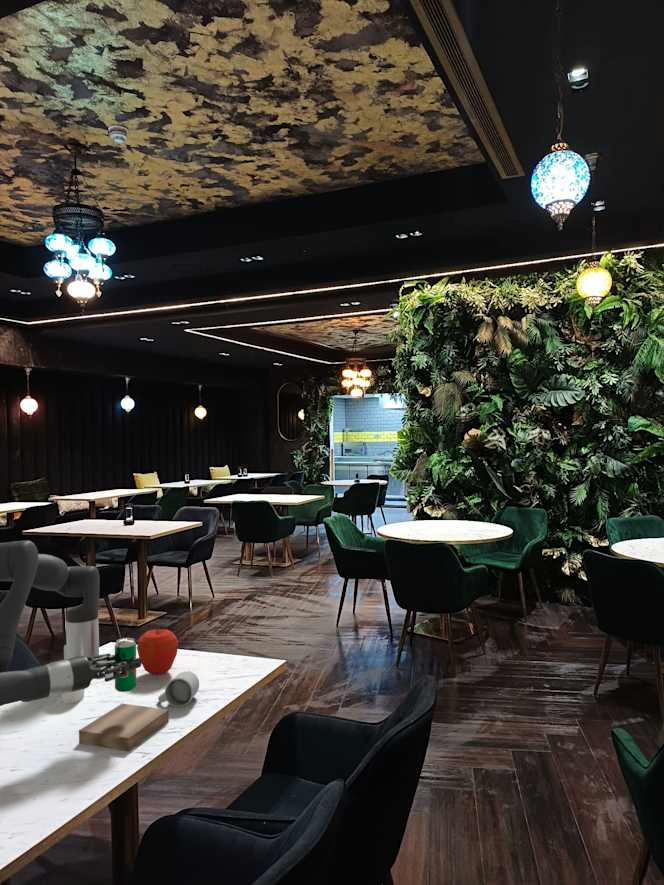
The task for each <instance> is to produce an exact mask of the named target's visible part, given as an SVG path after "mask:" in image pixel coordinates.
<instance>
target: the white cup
mask: <svg viewBox="0 0 664 885" xmlns="http://www.w3.org/2000/svg"><path fill="white" fill-rule="evenodd" d="M84 699H85V689H82V690H78V691H74V692H70V693H66V694H62V695H61V701H63V702H62V703H64V702H65V703H64V704H74V702H75V703H78V702H80V701H82V700H84Z"/></svg>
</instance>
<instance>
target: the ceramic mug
mask: <svg viewBox="0 0 664 885" xmlns="http://www.w3.org/2000/svg"><path fill="white" fill-rule="evenodd" d="M199 688H200V681H199V678H198V676H197V675H196V674H195V673H194V672H192V671H182V672H180V673H178V674H177V675H175V677H173V678H172V679H171V680H169V681H168V683H167V684H166V686H165V689H164V692H162V693H161V694H160V695H159V696H157V700H158V701H159V703H160V704H161V703H164V702H167V703H168V704H169V705H171V706H172V707H175V708H183V707H185V706H187V705H188V704H189V703H190V702H191V700H193V698H194V697H195V696H196V695H197V693H198V691H199Z"/></svg>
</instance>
